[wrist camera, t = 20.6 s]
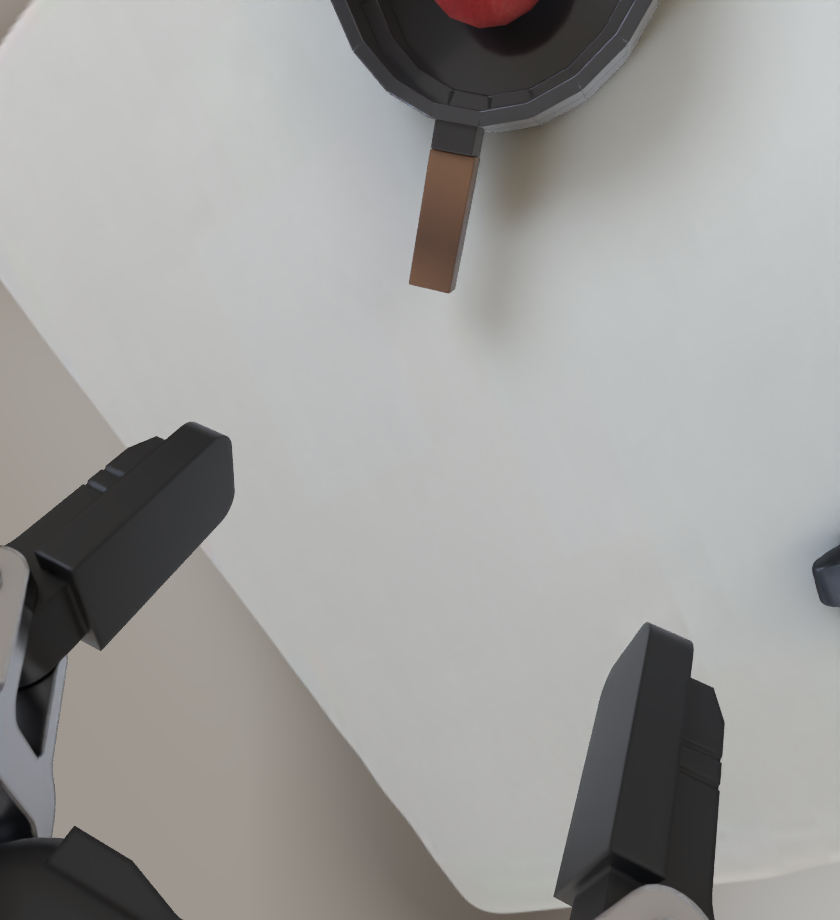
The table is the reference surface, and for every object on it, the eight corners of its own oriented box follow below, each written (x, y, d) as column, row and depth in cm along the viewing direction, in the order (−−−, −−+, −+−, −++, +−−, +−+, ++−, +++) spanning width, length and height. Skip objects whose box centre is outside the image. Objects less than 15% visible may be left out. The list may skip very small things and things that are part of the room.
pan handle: (443, 119, 28) (433, 116, 27) (487, 127, 28) (479, 124, 26) (417, 279, 31) (406, 285, 30) (456, 288, 31) (448, 295, 30)
